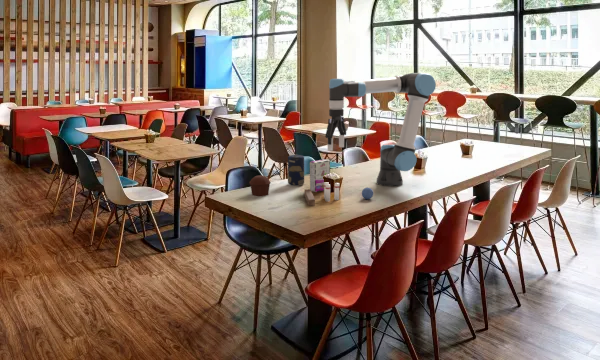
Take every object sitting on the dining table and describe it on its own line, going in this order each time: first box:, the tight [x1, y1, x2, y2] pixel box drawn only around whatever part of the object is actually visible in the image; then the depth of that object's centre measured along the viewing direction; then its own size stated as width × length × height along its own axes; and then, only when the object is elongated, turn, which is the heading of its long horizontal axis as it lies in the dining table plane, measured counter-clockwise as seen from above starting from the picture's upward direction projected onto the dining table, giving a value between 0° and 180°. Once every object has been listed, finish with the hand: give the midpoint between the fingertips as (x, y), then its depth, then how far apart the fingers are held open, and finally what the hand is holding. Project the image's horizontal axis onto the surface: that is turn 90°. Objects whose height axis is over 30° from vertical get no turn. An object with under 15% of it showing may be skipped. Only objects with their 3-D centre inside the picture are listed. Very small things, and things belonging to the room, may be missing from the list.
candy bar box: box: [309, 159, 331, 193], centre depth 289 cm, size 11×5×16 cm, turn 129°
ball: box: [361, 187, 374, 200], centre depth 270 cm, size 6×6×6 cm
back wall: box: [304, 188, 316, 207], centre depth 268 cm, size 3×22×3 cm, turn 5°
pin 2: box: [324, 183, 331, 202], centre depth 266 cm, size 2×2×8 cm
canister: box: [287, 153, 305, 187], centre depth 301 cm, size 10×10×18 cm
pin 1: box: [323, 182, 329, 200], centre depth 270 cm, size 2×2×8 cm
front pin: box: [333, 182, 340, 201], centre depth 268 cm, size 2×2×8 cm
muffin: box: [249, 174, 272, 197], centre depth 279 cm, size 12×11×10 cm
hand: (336, 148), depth 279 cm, fingers open, 13 cm apart
